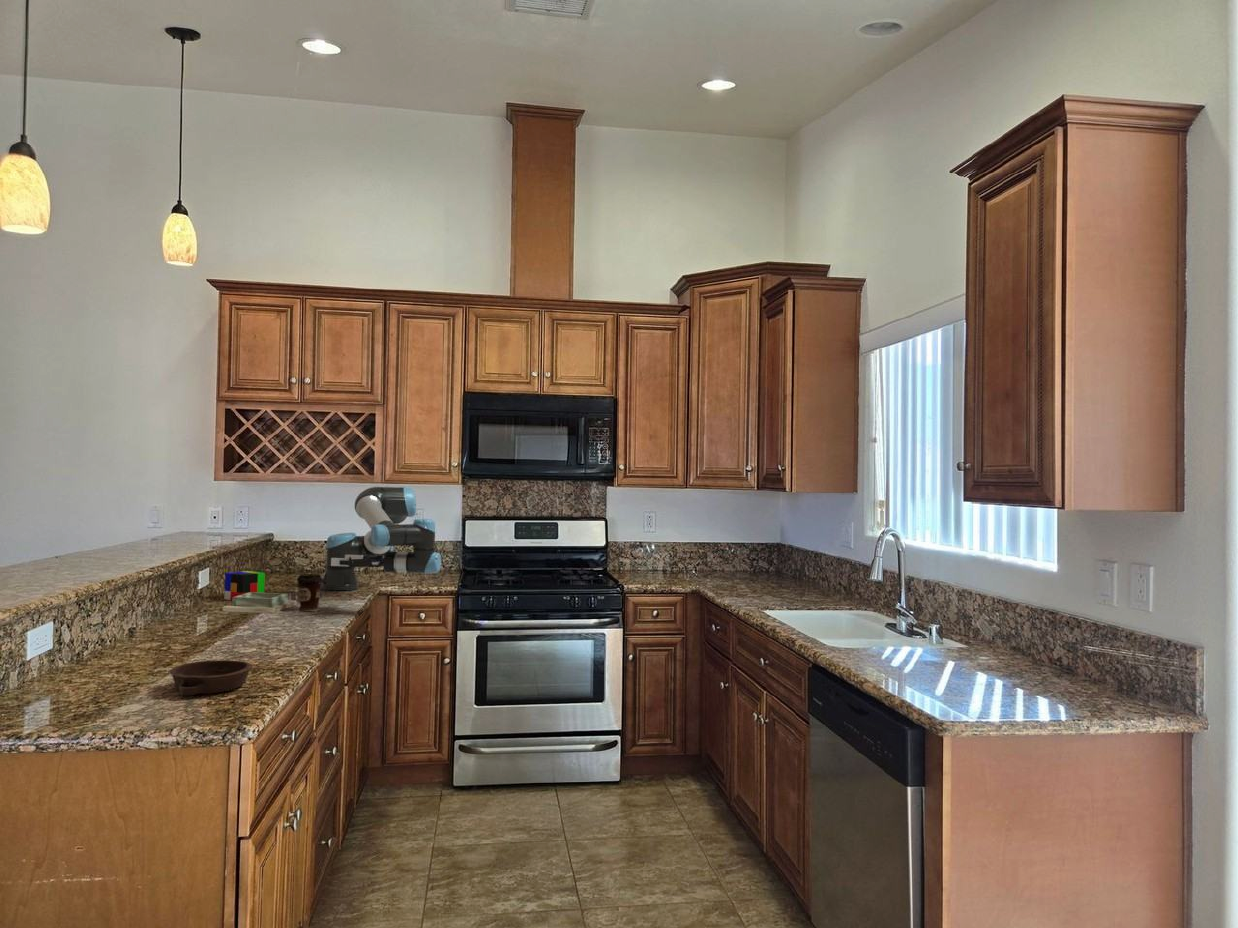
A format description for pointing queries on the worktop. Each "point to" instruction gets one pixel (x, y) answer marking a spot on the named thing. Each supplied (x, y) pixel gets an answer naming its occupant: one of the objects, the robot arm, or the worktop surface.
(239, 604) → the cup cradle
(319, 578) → the coffee cup
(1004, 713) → the worktop surface
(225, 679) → the dish
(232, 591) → the puzzle toy
